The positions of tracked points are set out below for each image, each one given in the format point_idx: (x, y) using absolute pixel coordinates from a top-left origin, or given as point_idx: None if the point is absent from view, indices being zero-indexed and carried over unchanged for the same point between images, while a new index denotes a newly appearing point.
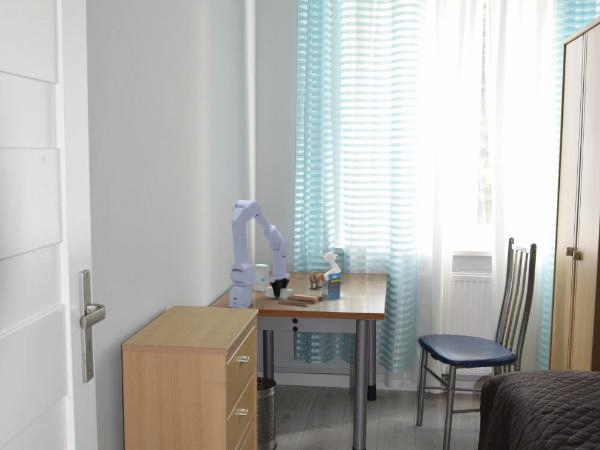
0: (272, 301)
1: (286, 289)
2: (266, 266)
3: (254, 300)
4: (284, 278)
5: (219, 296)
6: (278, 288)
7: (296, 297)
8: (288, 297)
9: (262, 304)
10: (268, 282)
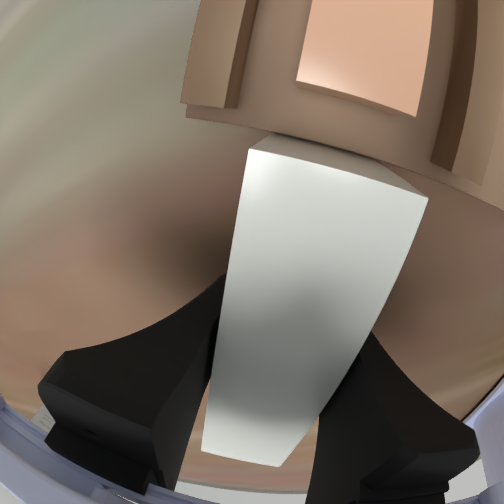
0: (389, 322)
1: (329, 279)
2: None
3: None
4: (113, 475)
5: (294, 493)
6: (408, 389)
7: (476, 48)
8: (486, 163)
9: (494, 343)
10: (41, 412)
